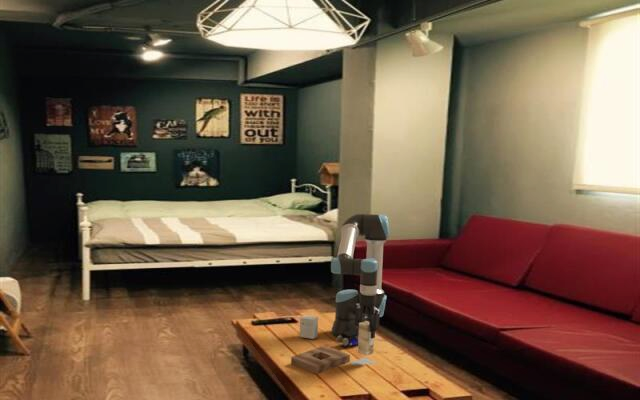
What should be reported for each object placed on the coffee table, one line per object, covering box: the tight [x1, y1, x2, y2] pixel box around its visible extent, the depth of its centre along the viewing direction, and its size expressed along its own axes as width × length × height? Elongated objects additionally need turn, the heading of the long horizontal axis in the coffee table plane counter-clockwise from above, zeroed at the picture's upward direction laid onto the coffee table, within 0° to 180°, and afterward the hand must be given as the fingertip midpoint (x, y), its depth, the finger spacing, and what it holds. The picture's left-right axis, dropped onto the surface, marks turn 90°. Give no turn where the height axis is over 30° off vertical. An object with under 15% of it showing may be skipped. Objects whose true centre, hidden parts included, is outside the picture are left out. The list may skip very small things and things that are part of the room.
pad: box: [350, 357, 378, 366], centre depth 266 cm, size 10×10×1 cm
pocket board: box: [290, 345, 351, 375], centre depth 265 cm, size 22×16×4 cm
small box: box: [299, 314, 319, 340], centre depth 301 cm, size 8×6×10 cm
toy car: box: [335, 328, 359, 349], centre depth 290 cm, size 7×8×15 cm
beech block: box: [357, 320, 375, 357], centre depth 264 cm, size 5×5×14 cm
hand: (366, 342), depth 265 cm, fingers closed on beech block, 5 cm apart
